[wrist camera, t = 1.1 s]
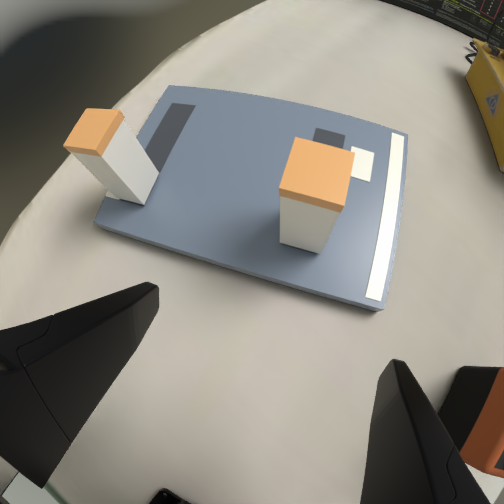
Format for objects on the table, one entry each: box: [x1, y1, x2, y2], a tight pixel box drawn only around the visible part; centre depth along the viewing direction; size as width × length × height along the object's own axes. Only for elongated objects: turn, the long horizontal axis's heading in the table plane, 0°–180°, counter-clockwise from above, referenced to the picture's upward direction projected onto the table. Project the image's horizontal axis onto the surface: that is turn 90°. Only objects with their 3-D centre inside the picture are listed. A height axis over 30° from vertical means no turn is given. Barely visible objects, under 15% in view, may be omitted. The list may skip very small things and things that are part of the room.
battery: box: [438, 366, 504, 478], centre depth 14 cm, size 4×7×10 cm, turn 149°
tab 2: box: [279, 137, 355, 254], centre depth 18 cm, size 3×3×8 cm
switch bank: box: [94, 85, 408, 312], centre depth 25 cm, size 16×24×2 cm, turn 72°
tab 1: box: [63, 109, 159, 205], centre depth 20 cm, size 3×3×8 cm
